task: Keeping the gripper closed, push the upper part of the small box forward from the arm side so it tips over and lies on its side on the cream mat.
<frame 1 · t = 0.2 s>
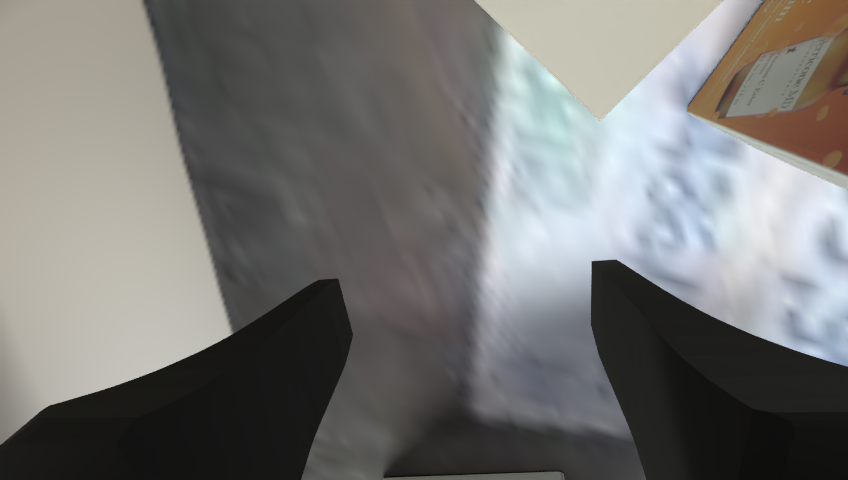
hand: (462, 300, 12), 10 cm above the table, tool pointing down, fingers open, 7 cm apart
small box: (802, 50, 17), on the table
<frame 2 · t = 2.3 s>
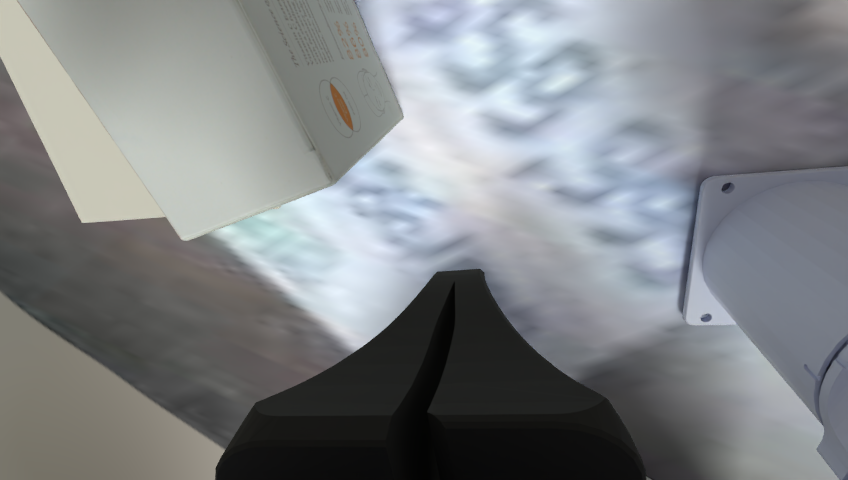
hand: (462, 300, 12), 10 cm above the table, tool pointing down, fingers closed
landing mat: (130, 88, 22), on the table
small box: (322, 60, 20), on the table
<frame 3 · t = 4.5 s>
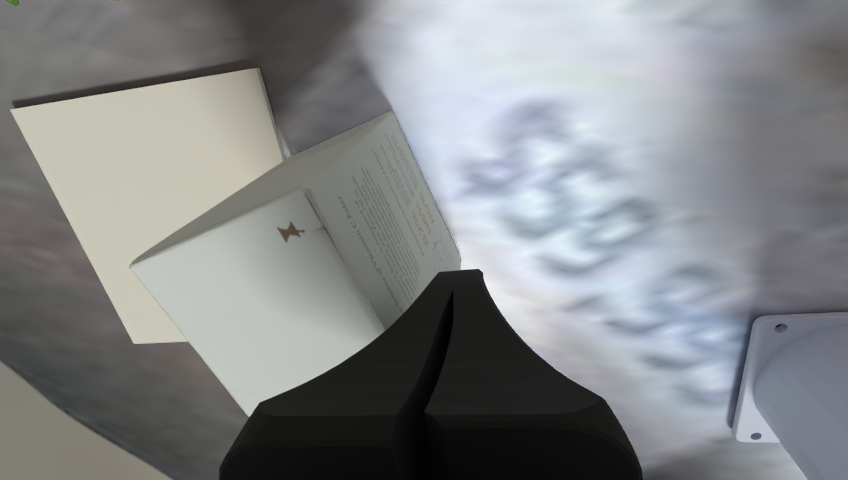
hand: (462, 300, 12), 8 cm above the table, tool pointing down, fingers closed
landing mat: (187, 228, 22), on the table
small box: (380, 207, 21), on the table, touching gripper
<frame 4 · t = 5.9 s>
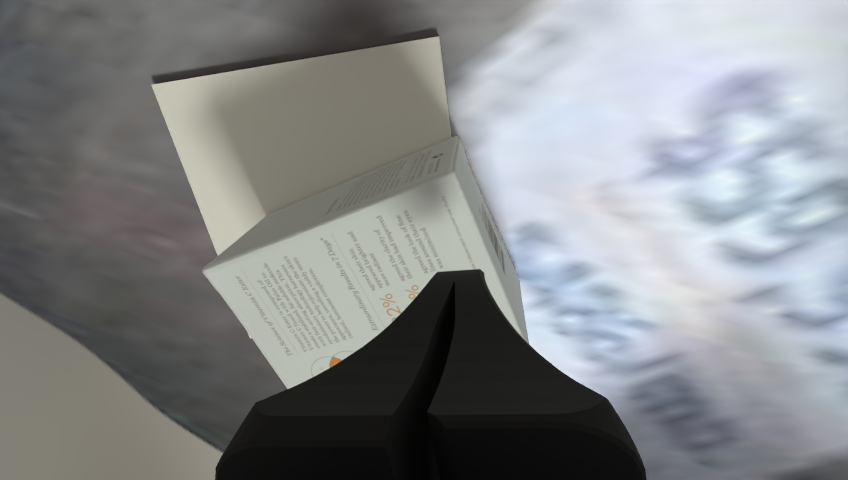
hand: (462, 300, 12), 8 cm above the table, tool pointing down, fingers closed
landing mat: (328, 214, 21), on the table
small box: (500, 237, 17), point 3 cm above the table, touching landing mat
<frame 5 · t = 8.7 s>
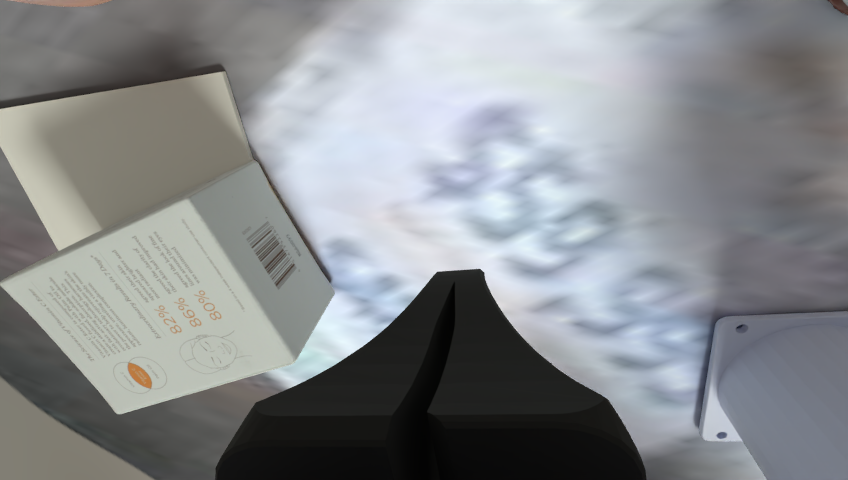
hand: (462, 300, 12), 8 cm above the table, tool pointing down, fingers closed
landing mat: (159, 229, 23), on the table
small box: (281, 254, 19), point 3 cm above the table, touching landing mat
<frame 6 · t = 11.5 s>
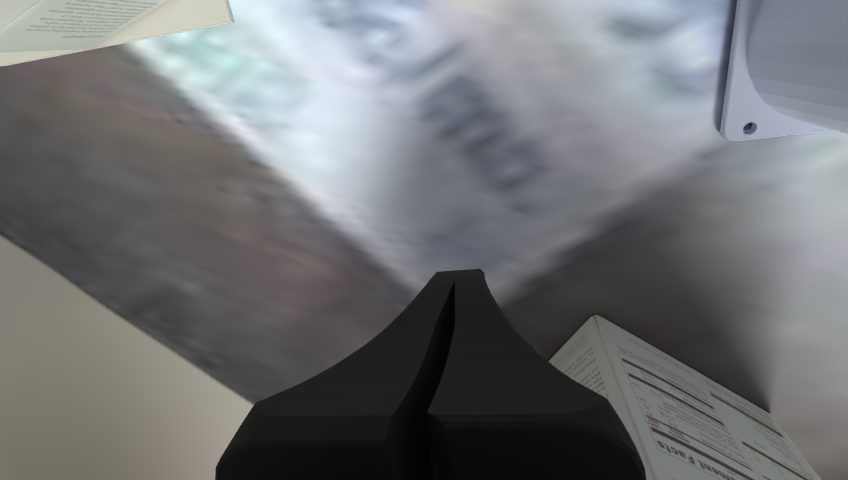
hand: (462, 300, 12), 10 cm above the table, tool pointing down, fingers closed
supplement box: (608, 426, 27), on the table
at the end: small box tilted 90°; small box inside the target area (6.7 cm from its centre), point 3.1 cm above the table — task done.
